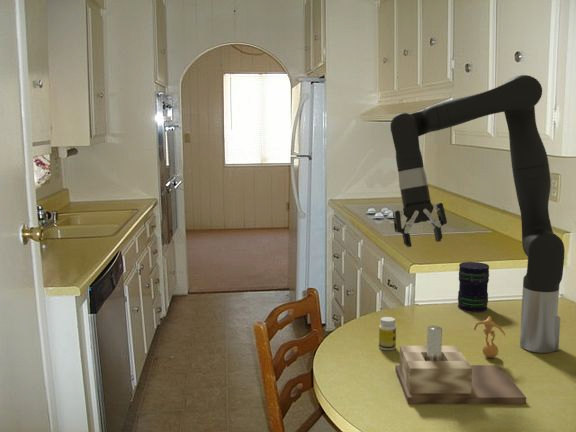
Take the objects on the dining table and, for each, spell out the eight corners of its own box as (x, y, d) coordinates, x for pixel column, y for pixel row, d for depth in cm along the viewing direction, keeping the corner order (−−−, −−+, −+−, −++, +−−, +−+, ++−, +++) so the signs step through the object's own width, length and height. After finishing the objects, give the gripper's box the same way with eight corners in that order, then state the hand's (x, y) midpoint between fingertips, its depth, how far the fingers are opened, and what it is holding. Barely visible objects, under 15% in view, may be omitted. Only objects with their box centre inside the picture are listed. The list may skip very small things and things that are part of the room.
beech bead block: (455, 368, 148) (456, 345, 147) (471, 393, 134) (472, 368, 134) (399, 368, 149) (399, 345, 148) (409, 393, 135) (410, 368, 134)
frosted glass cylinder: (439, 377, 143) (440, 325, 141) (442, 383, 140) (443, 330, 138) (424, 377, 143) (426, 325, 141) (427, 383, 140) (428, 330, 138)
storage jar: (452, 304, 205) (453, 262, 203) (477, 302, 208) (479, 261, 205) (467, 313, 196) (468, 269, 193) (493, 311, 198) (495, 267, 196)
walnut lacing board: (499, 370, 150) (499, 365, 150) (526, 403, 132) (526, 397, 132) (395, 370, 151) (395, 365, 151) (407, 403, 133) (407, 397, 133)
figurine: (508, 358, 158) (510, 315, 156) (501, 365, 153) (503, 321, 151) (477, 351, 163) (479, 309, 161) (469, 358, 158) (471, 315, 156)
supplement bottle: (395, 351, 164) (396, 322, 163) (378, 350, 165) (378, 321, 164) (395, 345, 169) (396, 316, 167) (379, 344, 170) (379, 315, 168)
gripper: (393, 189, 157) (404, 249, 157) (443, 180, 159) (453, 239, 159) (384, 191, 165) (394, 248, 165) (432, 182, 167) (442, 239, 167)
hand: (423, 244), depth 162 cm, fingers open, 8 cm apart
